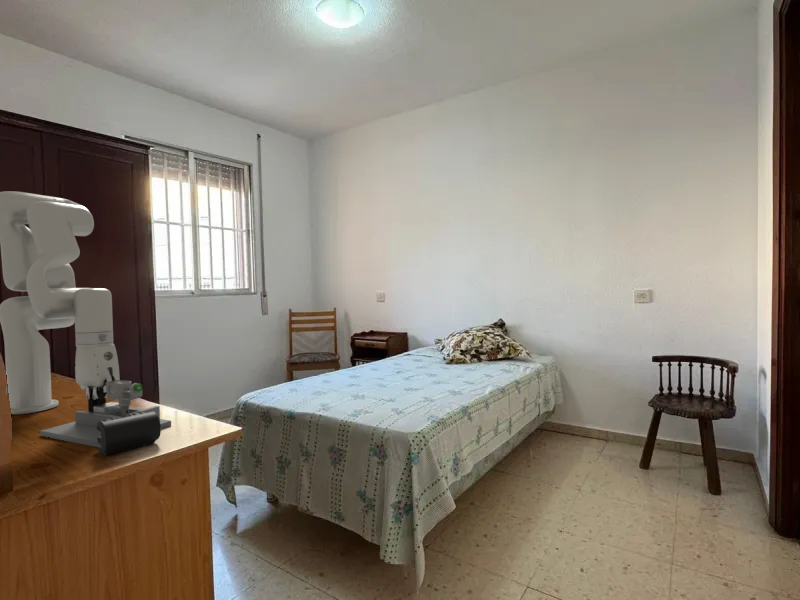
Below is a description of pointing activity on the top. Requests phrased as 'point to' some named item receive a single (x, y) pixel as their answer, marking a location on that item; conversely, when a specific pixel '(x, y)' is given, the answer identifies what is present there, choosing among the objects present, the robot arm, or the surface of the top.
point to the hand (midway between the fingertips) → (97, 414)
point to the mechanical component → (123, 393)
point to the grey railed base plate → (91, 426)
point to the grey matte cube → (108, 409)
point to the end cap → (128, 432)
